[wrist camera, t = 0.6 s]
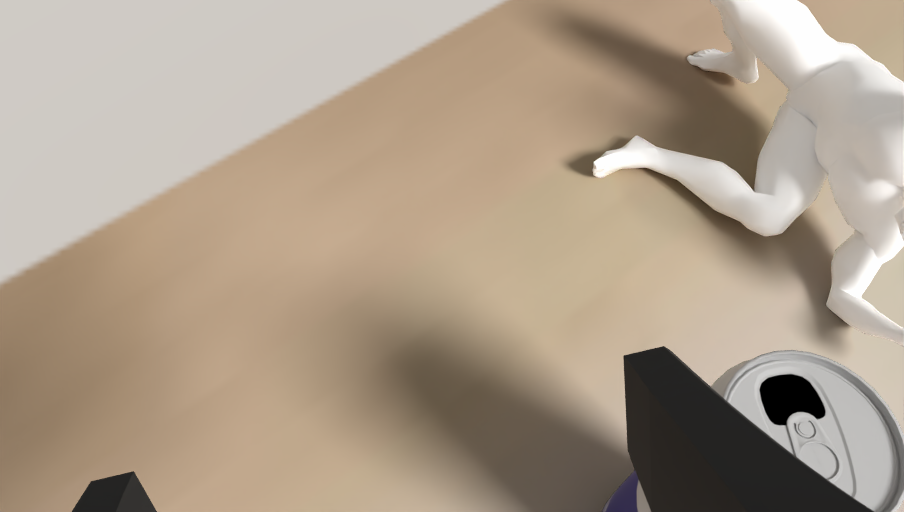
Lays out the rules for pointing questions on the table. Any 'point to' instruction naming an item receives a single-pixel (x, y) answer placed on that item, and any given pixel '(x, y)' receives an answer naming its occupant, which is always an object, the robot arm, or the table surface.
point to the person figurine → (805, 146)
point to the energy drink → (812, 426)
